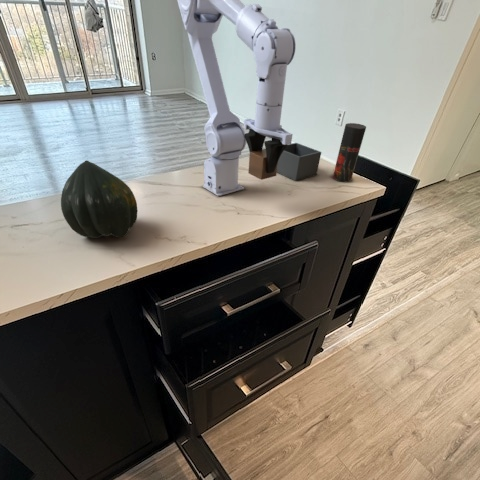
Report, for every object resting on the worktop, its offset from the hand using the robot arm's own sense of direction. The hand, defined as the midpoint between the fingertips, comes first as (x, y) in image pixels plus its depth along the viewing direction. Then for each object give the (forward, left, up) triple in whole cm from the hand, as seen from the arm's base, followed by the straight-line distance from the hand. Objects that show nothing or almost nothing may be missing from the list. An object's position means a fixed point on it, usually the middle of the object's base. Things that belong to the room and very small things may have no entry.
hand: (262, 168), depth 79 cm
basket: (+27, +16, -10) cm, 33 cm away
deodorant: (+37, +1, -10) cm, 38 cm away
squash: (-38, +10, -10) cm, 41 cm away
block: (0, 0, -1) cm, 1 cm away
